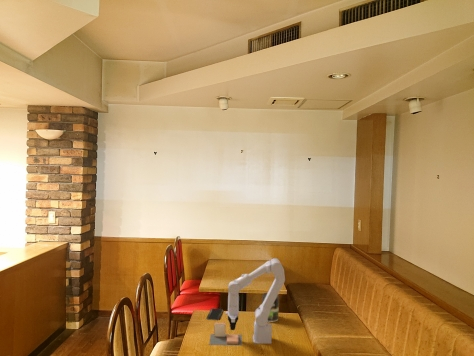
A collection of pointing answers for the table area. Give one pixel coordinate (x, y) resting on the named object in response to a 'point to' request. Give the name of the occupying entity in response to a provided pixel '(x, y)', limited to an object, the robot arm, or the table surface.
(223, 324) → the tile
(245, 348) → the table surface
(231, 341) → the tile
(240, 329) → the table surface
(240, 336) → the mat
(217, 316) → the phone
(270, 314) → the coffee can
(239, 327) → the table surface
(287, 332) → the table surface
